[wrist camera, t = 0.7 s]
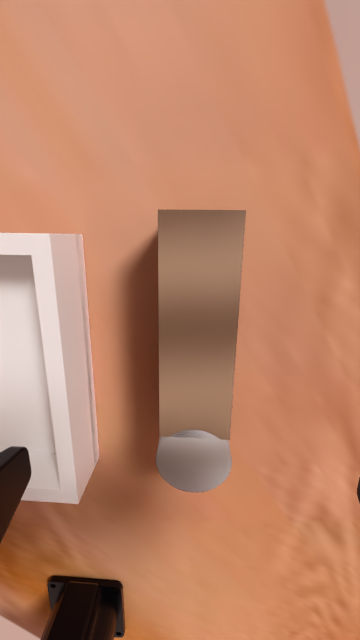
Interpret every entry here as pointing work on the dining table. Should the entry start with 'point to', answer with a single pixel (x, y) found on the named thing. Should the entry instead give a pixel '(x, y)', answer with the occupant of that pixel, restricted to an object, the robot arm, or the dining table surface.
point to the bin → (47, 363)
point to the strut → (197, 343)
